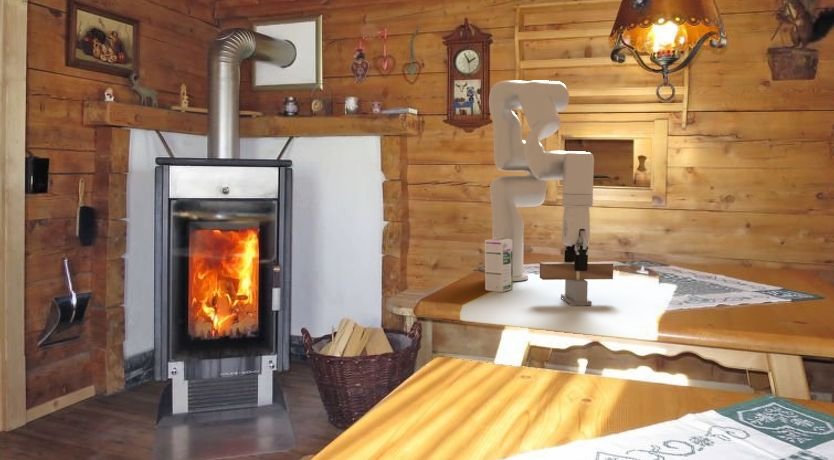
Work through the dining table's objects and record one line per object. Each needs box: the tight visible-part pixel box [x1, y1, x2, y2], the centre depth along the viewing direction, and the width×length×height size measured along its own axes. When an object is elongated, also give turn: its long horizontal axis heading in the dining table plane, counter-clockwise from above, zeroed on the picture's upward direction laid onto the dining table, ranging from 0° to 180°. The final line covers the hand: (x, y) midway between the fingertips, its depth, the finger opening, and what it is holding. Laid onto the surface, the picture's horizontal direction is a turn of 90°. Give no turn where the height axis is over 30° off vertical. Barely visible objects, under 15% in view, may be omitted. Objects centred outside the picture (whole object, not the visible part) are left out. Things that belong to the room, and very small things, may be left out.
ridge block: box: [560, 279, 593, 306], centre depth 181 cm, size 11×5×6 cm, turn 3°
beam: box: [539, 261, 614, 281], centre depth 181 cm, size 4×18×4 cm, turn 93°
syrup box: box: [484, 238, 514, 293], centre depth 198 cm, size 6×6×14 cm
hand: (575, 267), depth 181 cm, fingers open, 9 cm apart
